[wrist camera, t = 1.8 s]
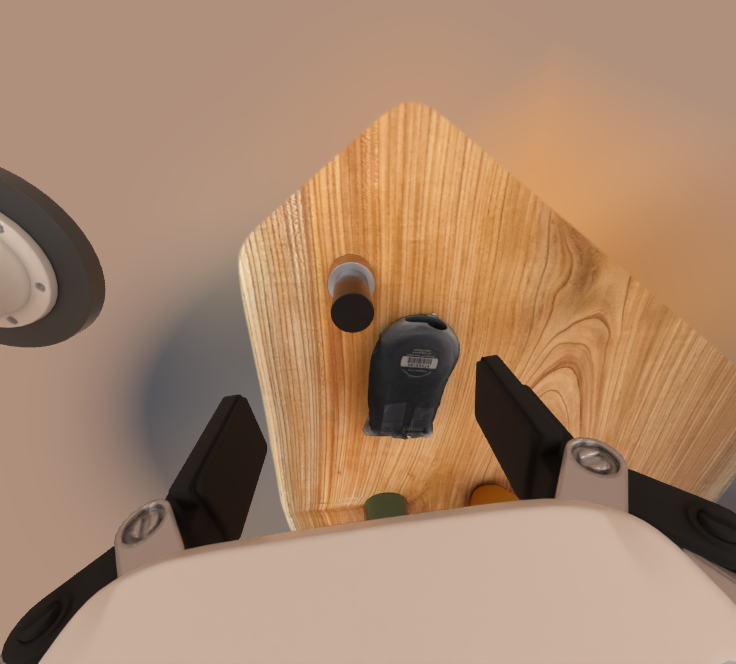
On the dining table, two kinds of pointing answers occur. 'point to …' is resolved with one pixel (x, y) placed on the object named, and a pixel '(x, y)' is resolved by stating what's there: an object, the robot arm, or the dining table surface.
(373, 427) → the electronic device
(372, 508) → the bottle
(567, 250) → the dining table surface
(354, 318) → the torch
